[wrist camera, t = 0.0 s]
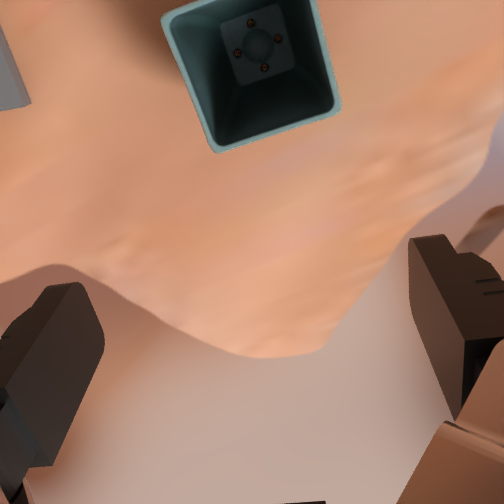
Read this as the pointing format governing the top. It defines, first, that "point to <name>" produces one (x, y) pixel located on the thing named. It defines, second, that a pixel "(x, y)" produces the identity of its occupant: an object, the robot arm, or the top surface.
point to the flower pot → (253, 67)
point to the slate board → (10, 80)
